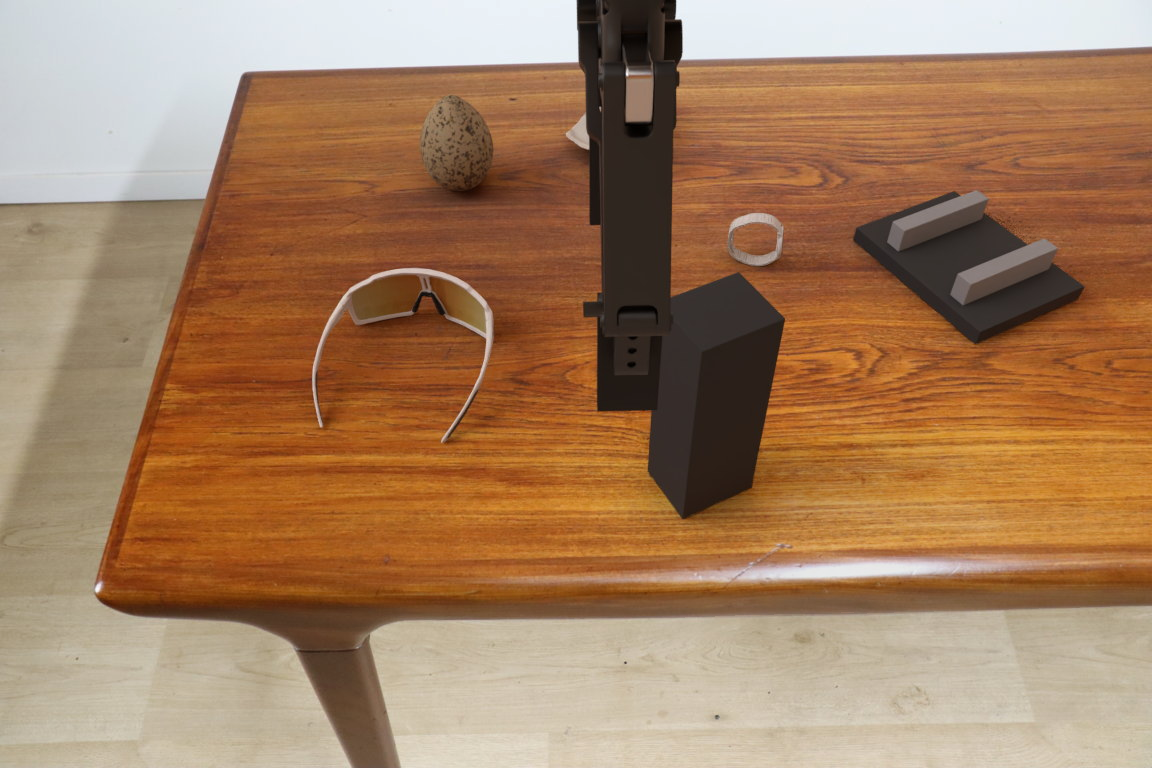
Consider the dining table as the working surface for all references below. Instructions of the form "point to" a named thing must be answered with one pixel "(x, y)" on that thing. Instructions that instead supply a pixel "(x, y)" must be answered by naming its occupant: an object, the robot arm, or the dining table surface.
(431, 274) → the sunglasses
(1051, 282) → the base pad
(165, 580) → the dining table surface
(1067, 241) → the dining table surface
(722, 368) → the standing block
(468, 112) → the decorative egg
